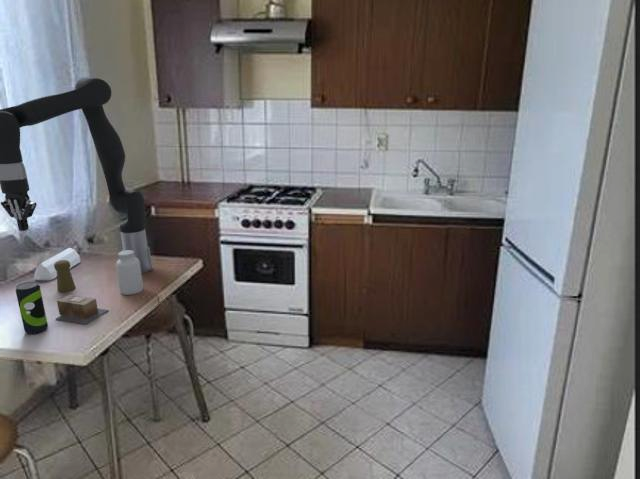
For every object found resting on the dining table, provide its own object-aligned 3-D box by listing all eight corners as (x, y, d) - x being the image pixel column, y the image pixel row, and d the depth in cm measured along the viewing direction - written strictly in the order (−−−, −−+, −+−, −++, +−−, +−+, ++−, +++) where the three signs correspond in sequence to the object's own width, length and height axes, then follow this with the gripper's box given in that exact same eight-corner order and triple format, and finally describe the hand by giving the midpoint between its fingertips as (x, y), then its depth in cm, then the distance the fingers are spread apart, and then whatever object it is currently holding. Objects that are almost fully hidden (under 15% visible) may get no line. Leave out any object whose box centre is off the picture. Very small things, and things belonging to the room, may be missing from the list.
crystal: (52, 273, 181) (86, 253, 204) (35, 264, 181) (70, 245, 204) (46, 288, 184) (80, 266, 206) (29, 280, 183) (65, 259, 206)
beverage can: (34, 325, 148) (24, 280, 144) (52, 325, 148) (43, 281, 143) (20, 334, 142) (9, 288, 138) (39, 335, 142) (29, 289, 137)
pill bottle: (121, 297, 168) (115, 257, 164) (119, 289, 175) (113, 250, 170) (144, 292, 171) (139, 253, 167) (141, 285, 178) (136, 247, 174)
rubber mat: (55, 319, 152) (55, 318, 152) (79, 306, 161) (79, 305, 161) (85, 324, 148) (85, 323, 148) (108, 311, 157) (108, 310, 157)
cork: (68, 292, 173) (62, 264, 169) (53, 291, 174) (48, 263, 171) (79, 286, 178) (74, 258, 175) (65, 285, 179) (60, 257, 176)
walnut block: (56, 300, 153) (84, 304, 149) (69, 294, 157) (95, 298, 154) (59, 314, 154) (86, 319, 151) (71, 308, 159) (98, 312, 155)
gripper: (-14, 178, 147) (-2, 231, 153) (18, 180, 143) (29, 235, 148) (8, 174, 154) (18, 225, 159) (39, 176, 150) (49, 228, 155)
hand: (24, 230), depth 154 cm, fingers closed
